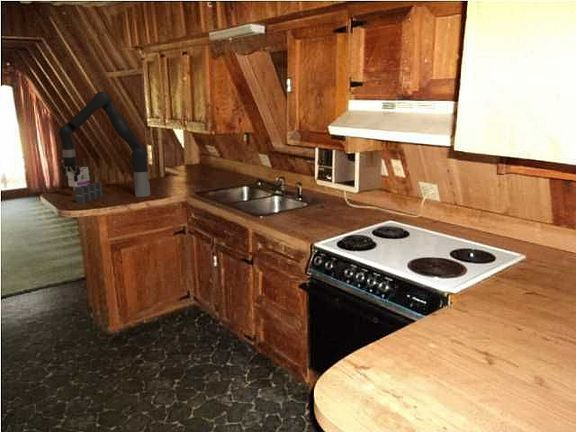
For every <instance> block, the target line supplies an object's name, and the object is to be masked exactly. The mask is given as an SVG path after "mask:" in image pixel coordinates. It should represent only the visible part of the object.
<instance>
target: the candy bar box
mask: <svg viewBox="0 0 576 432" xmlns="http://www.w3.org/2000/svg"><path fill="white" fill-rule="evenodd" d="M80 167H81V169H80V175H78V181H77V186H76V187H80V188H81V186H83V185H84V186H87V184H91V178H90V177H91V176H90V169H89V167H88V166H80ZM76 187H72V190H73V192H75V188H76Z"/></svg>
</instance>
